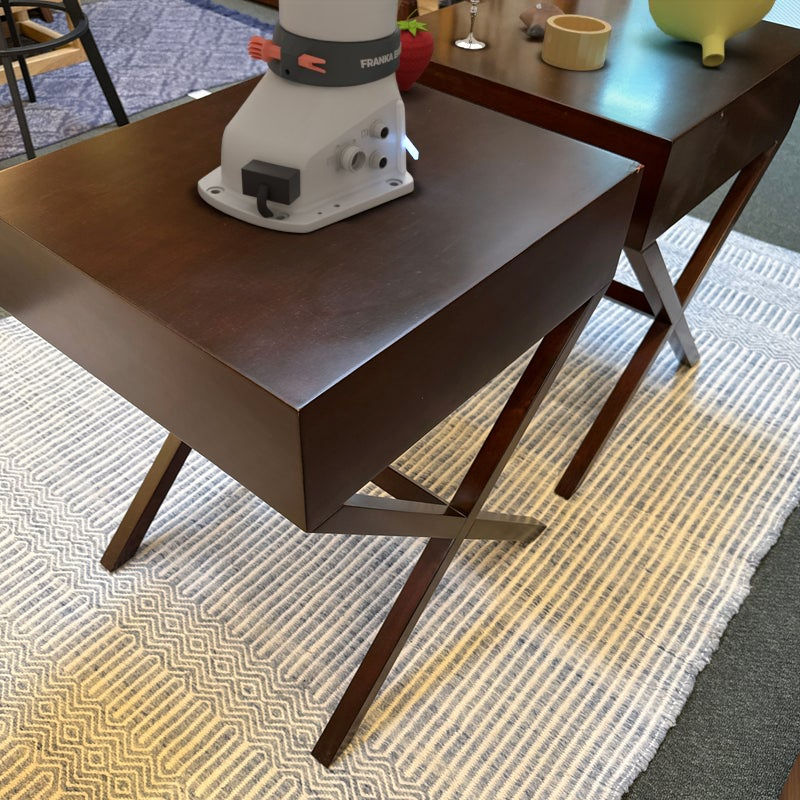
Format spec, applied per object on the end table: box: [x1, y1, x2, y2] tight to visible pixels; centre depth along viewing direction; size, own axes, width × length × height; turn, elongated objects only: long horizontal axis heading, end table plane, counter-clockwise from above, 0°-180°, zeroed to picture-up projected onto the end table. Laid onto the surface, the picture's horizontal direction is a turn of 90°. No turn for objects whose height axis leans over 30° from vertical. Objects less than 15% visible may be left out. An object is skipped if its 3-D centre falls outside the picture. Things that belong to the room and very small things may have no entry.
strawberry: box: [395, 8, 435, 92], centre depth 104 cm, size 6×8×10 cm
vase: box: [647, 0, 777, 67], centre depth 124 cm, size 18×18×19 cm
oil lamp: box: [518, 2, 566, 38], centre depth 130 cm, size 9×4×8 cm
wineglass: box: [454, 0, 489, 50], centre depth 120 cm, size 6×6×12 cm
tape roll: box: [541, 14, 613, 72], centre depth 120 cm, size 9×9×5 cm
